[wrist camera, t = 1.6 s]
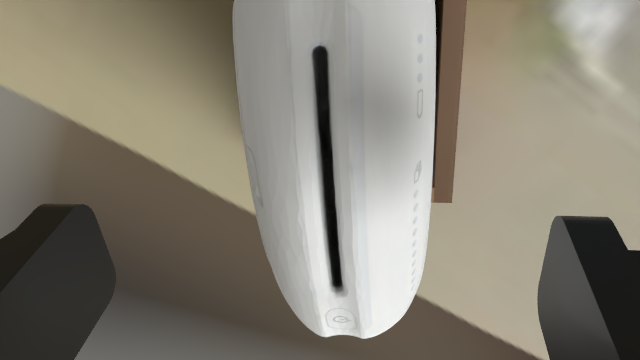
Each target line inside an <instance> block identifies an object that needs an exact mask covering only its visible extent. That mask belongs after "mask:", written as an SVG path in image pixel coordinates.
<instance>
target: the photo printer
mask: <svg viewBox="0 0 640 360" xmlns="http://www.w3.org/2000/svg"><path fill="white" fill-rule="evenodd" d="M232 22H233V45H234V56H235V72H236V80H237V93H238V102H239V111H240V119H241V128H242V135H243V142H244V149H245V155H246V162H247V168H248V174H249V180H250V186H251V192H252V197H253V202H254V206H255V211H256V217H257V222H258V225H259V228H260V233H261V237H262V241H263V245H264V248H265V251H266V254H267V257H268V260H269V262H270V264H271V267H272V270H273V273H274V276H275V278H276V281H277V283H278V285H279V288H280V290H281V292H282V293H283V296H284V298H285V299H286V301H287V302H288V304H289V305H290V307H291V308H292V310H293V311H294V313H295V314H296V315H297V317H298V318H299V319H300V320H301V321H302V322H303V323H304V325H305V326H307V327H308V328H309V329H311V330H312V331H313V332H314V333H316V334H318V335H320V336H323V337H329V336H333V335H341V334H343V335H352V336H357V337H359V338H362V339H365V338H370V337H374V336H377V335H379V334H381V333H383V332H384V331H386V330H388V329H389V328H390V327H392V326H393V325H394V324H395V323H396V322H397V321H399V320H400V319H401V317H402V316H403V315H404V314H405V313H406V311H407V309H408V307H409V306H410V304H411V302H412V300H413V298H414V296H415V294H416V291H417V289H418V287H419V284H420V281H421V277H422V273H423V268H424V264H425V257H426V249H427V240H428V230H429V219H430V208H431V193H432V175H433V152H434V128H435V96H436V14H435V0H234V4H233V16H232Z"/></svg>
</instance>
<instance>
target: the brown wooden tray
mask: <svg viewBox="0 0 640 360" xmlns="http://www.w3.org/2000/svg"><path fill="white" fill-rule="evenodd" d="M466 4H467V0H439V8H438V29H437V51H436V96H435V128H434V152H433V175H432V193H431V202H436V203H452V193H453V179H454V166H455V152H456V139H457V125H458V112H459V98H460V85H461V71H462V58H463V44H464V31H465V17H466Z"/></svg>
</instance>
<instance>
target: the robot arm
mask: <svg viewBox="0 0 640 360" xmlns="http://www.w3.org/2000/svg"><path fill="white" fill-rule="evenodd" d="M115 283H116V273H115V268H114V265H113V262H112V259H111V257H110V254H109V251H108V249H107V246H106V244H105V241H104V238H103V236H102V233H101V230H100V227H99V225H98V222H97V220H96V217H95V215H94V212H93V211H92V209H91V208H90V207H89V206H87V205H84V204H43V205H40V206H38V207H37V208H36V209H35V210H34V211H33V212H32V213H31V214H30V215H29V216H28V217H27V218H26V219H25V220H24V221H23V222H22V223H21V224H20V226H19V227H18V228H17V229H16V230H15V231H13V232H11V233H9V234H8V235H6V236H5V237H3V238H2V239H0V360H74V359H75V357H76V356H77V354H78V352H79V351H80V349H81V348H82V346H83V344H84V343H85V341H86V339H87V338H88V336H89V334H90V333H91V331H92V330H93V328H94V327H95V325H96V323H97V321H98V320H99V318H100V317H101V315H102V313H103V312H104V310H105V309H106V307H107V306H108V304H109V302H110V300H111V298H112V296H113V293H114V289H115ZM538 315H539V321H540V325H541V329H542V332H543V336H544V340H545V343H546V347H547V351H548V354H549V358H550V360H640V251H637V250H628V249H627V247H626V246H625V244H624V242H623V240H622V238H621V236H620V234H619V232H618V231H617V229H616V227H615V225H614V223H613V222H612V220H611V219H610V218H608V217H584V216H556V217H555V218H554V220H553V222H552V225H551V229H550V234H549V239H548V243H547V248H546V253H545V257H544V262H543V267H542V272H541V276H540V281H539V286H538Z"/></svg>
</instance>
